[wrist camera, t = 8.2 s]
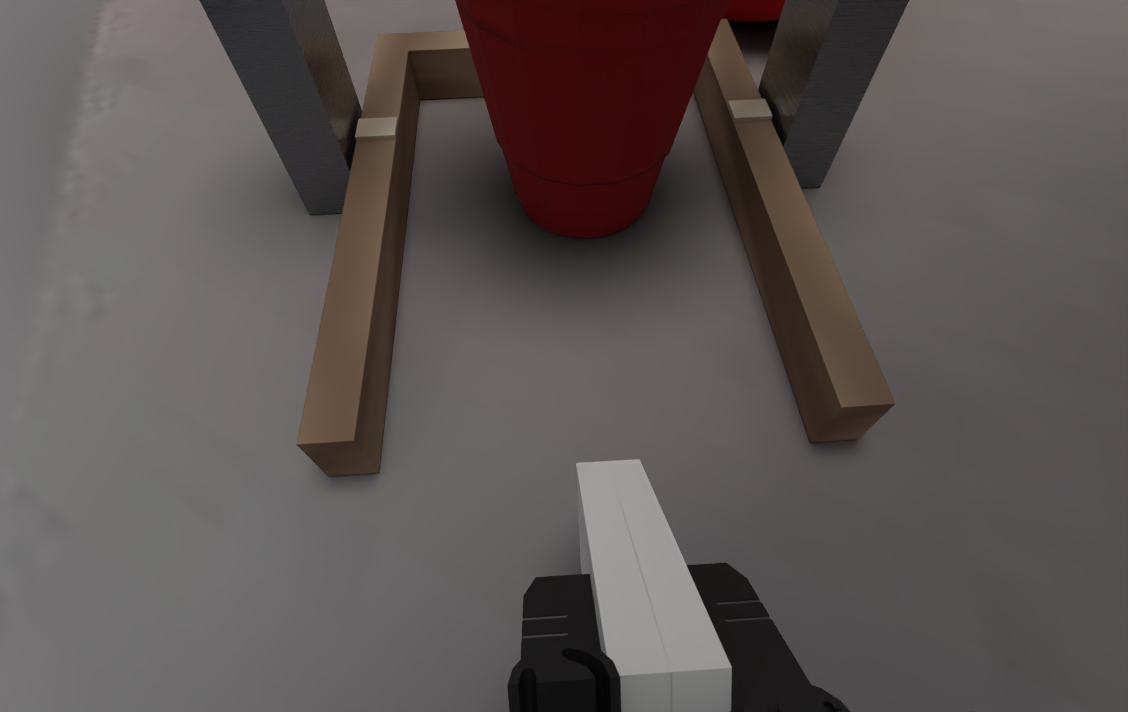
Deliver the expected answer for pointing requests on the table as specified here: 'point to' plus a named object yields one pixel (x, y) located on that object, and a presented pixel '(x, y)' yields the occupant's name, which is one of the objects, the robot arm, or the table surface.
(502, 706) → the table surface
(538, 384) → the table surface
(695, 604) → the robot arm
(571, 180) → the plastic cup
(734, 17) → the tomato
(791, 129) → the grey and wooden frame
